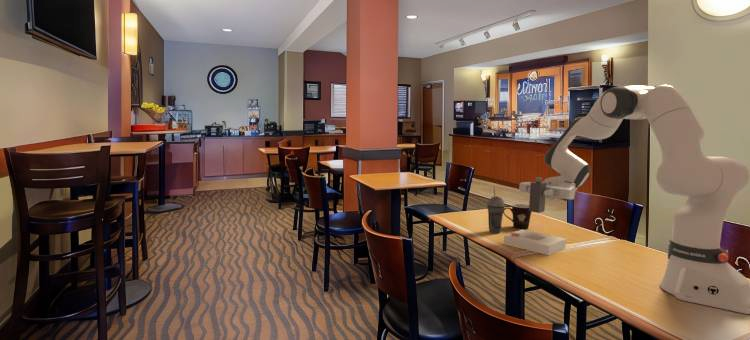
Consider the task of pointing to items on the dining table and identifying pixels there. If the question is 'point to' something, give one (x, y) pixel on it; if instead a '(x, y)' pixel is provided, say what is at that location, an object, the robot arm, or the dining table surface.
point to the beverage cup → (495, 213)
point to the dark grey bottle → (537, 196)
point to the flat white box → (535, 242)
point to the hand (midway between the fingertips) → (536, 192)
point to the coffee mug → (520, 216)
